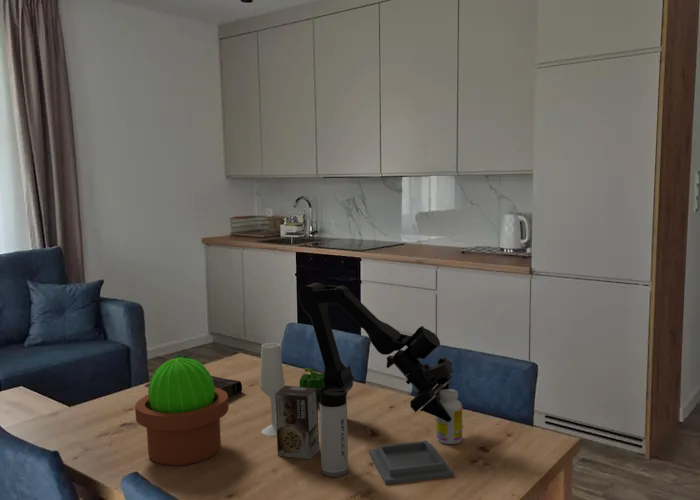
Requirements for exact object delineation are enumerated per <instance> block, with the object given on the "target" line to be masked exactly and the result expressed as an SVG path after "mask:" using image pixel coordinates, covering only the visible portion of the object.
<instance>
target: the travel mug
mask: <svg viewBox="0 0 700 500" xmlns="http://www.w3.org/2000/svg"><path fill="white" fill-rule="evenodd" d="M319 392H320V403H319V423H320V424H319V428H320V430H319V431H320V432H319V433H320V434H319V436H320V462H321V463H320V464H321V466H320V467H321V473H322V474H323V475H324V476H326V477H330V478H339V477H343V476H344V475H346V474H347V473H348V472H349V448H348V447H349V446H348V445H349V444H348V442H349V441H348V440H349V439H348V405H347V403H348V402H347V395H346V392H345V390H343V389H341V388H338V387H323V388H318V393H319Z"/></svg>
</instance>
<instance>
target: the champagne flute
mask: <svg viewBox="0 0 700 500" xmlns="http://www.w3.org/2000/svg"><path fill="white" fill-rule="evenodd" d="M260 352H261V353H260V355H261V357H260V367H259V368H260V372H259V374H260V375H259V389H260V390H261V391H262V392H263V393H264V394H265V395H266V396H267V397H270V398H269V399H270V421H271V424H269V425H268V426H267V427H265V428H263V429H262V430H261V434H262V435H263V436H266V437H275V436H276V437H277V426H276V407H275V393H277V392H278V391H279V390H280V389H281V388H283V387H284V386H285V384H286V383H285V377H284V368H283V361H282V354H281V345H280V343H277V342H266V343H263V344H261V351H260Z"/></svg>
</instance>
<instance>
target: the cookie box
mask: <svg viewBox="0 0 700 500" xmlns="http://www.w3.org/2000/svg"><path fill="white" fill-rule="evenodd" d="M275 416H276V426H277V436H276V441H277V442H276V446H277V447H276V448H277V456H278V457H287V458H293V459H294V458H296V459H303V460H311V459H313V457H314V456H316V454H317V453H318V452H319V450H320V439H319V437H320V434H319V433H320V432H319V431H320V430H319V407H318V402H317V388H308V387H300V386H297V385H296V386H295V385H294V386H293V385H284V387H283V388H281V389H280V390H279V391H278V392H277V393H275Z"/></svg>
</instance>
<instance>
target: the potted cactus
mask: <svg viewBox="0 0 700 500" xmlns="http://www.w3.org/2000/svg"><path fill="white" fill-rule="evenodd" d="M174 357H176V358H173V357H171V358H170V359H168V360H166V361H164V363H163V364H160V366H158V367H157V369H156V370H155V371H153V372H154V374H153V375H152V376H151V379H150V382H149V383H150V385H149V386H148V387H147V386H146V387H145V388H147V389H148V390H147V394H146V395H144V396H142V397H141V398H140V399H138V400H137V401H136V403H135V405H134V406H135V407H134V408H135V409H134V410H135V420H136V423H137V424H138V425H140V426H142V427H144V428H146V436H147V437H146V438H147V439H146V440H147V453H148V456H149V458H150V460H152V461H153V462H155V463H158V464H161V465H166V466H186V465H188V466H189V465H192V464H193V465H194V464H196V463H199V462H201V461H202V462H203V461H204V460H206V459H208V458H210V457H212V456H214V455H215V454H216V453H217V452H218V451H219V450H220V448H221V445H222V441H221V440H222V439H221V418H223V417H224V416H225V415H226V414H227V413H228V412H229V397H228V394H227V393H226V392H225V391H224V390H222V389H219V388H216V387H214V383H213V378H212V377H211V376H212V375H211V373H210V370H209V369H207V368H206V367H205V365H203V363H201V360H199V361H198V360H196V359H193V358H191V356H190V355H189V356H188V355H180V354H174Z"/></svg>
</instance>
